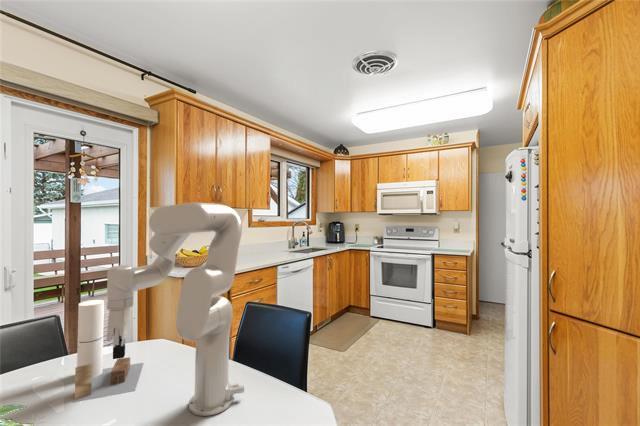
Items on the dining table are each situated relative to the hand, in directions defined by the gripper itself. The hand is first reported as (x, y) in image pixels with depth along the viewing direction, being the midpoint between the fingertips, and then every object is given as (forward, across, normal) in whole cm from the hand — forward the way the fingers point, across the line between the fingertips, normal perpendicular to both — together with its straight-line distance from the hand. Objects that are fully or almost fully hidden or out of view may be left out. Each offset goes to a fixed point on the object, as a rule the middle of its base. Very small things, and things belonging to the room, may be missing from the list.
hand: (118, 357), depth 102 cm
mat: (+8, -1, -2) cm, 9 cm away
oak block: (+8, +5, -8) cm, 12 cm away
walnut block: (+6, +2, 0) cm, 6 cm away
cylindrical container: (+8, -8, -10) cm, 15 cm away
